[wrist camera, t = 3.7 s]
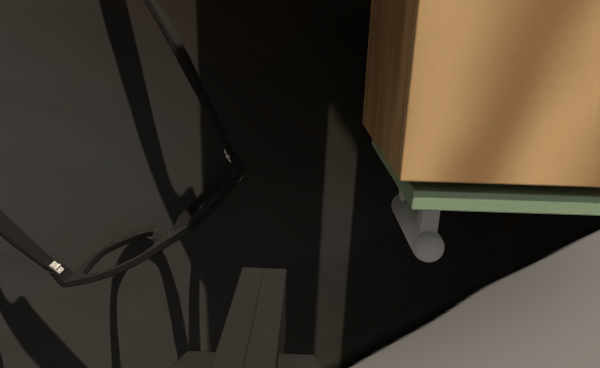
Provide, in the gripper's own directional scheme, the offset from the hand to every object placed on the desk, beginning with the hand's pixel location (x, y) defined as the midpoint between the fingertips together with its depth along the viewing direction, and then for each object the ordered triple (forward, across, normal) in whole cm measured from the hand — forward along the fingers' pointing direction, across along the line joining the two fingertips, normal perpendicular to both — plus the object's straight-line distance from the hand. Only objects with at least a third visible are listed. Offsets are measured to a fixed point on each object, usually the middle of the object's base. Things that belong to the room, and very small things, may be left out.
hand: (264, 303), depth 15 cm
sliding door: (+14, +10, +1) cm, 17 cm away
